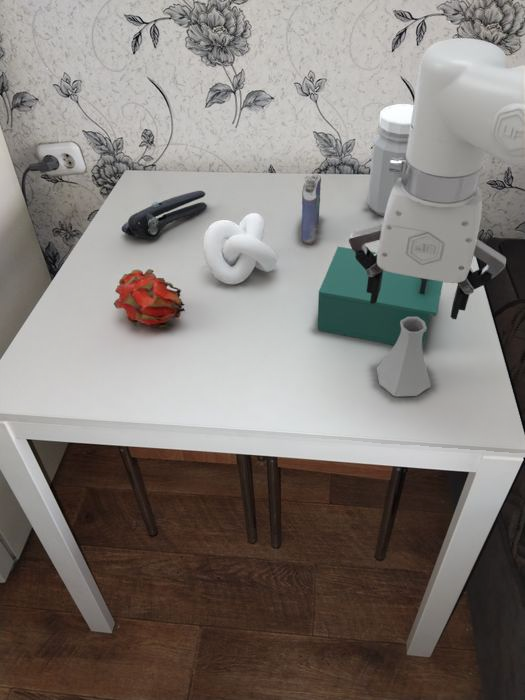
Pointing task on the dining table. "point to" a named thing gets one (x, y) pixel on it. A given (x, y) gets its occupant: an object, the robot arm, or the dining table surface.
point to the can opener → (150, 226)
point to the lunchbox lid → (395, 291)
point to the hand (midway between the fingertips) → (414, 304)
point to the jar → (388, 153)
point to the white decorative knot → (237, 249)
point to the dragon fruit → (148, 299)
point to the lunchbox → (363, 320)
